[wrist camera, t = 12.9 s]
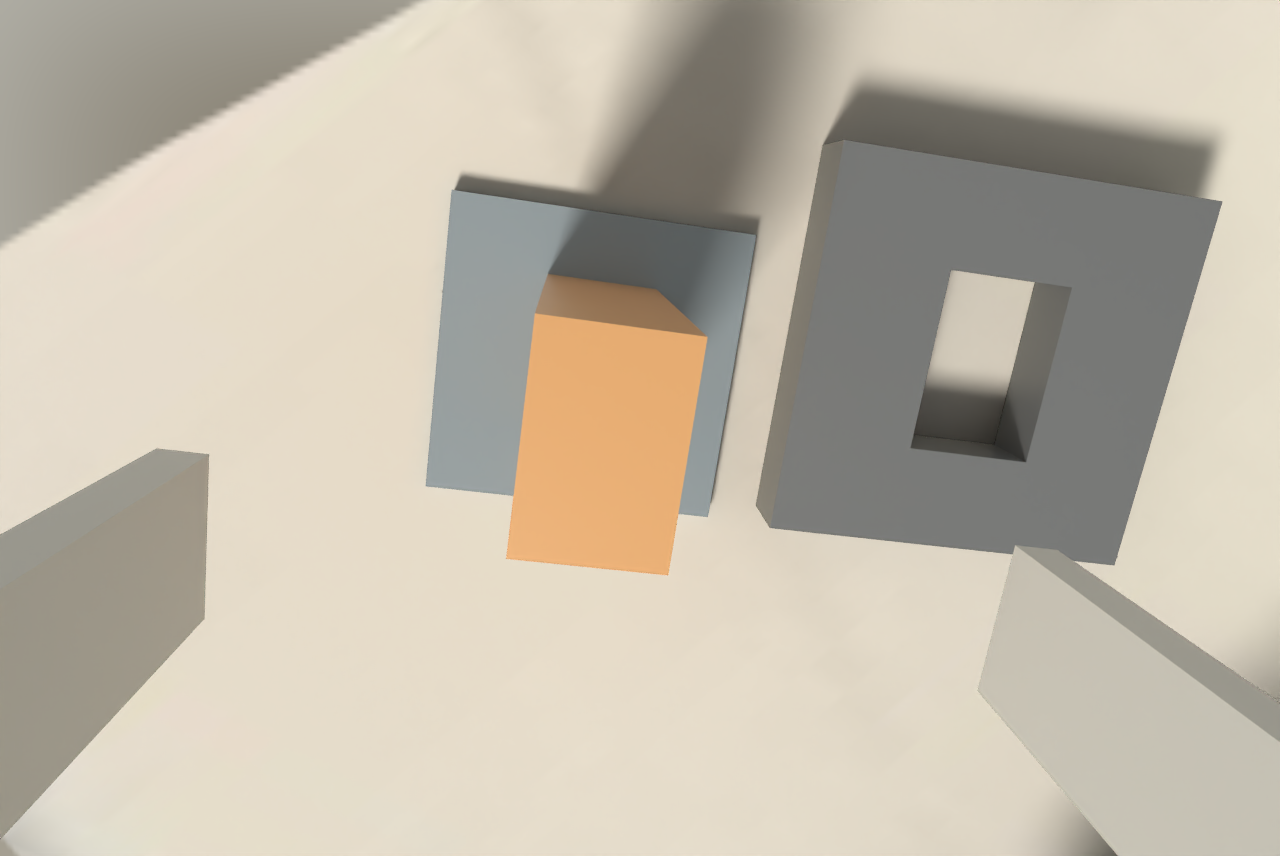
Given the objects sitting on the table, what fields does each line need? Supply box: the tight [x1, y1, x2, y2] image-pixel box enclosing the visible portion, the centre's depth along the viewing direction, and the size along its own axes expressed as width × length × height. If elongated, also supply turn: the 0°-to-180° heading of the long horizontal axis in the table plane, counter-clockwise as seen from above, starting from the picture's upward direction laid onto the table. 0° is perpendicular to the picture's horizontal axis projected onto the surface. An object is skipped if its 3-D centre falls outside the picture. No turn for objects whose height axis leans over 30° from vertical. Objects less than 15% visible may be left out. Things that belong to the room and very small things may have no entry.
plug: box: [506, 274, 708, 575], centre depth 26 cm, size 4×6×12 cm, turn 171°
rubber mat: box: [426, 190, 756, 517], centre depth 32 cm, size 11×11×1 cm
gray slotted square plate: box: [756, 140, 1222, 565], centre depth 32 cm, size 14×14×2 cm
